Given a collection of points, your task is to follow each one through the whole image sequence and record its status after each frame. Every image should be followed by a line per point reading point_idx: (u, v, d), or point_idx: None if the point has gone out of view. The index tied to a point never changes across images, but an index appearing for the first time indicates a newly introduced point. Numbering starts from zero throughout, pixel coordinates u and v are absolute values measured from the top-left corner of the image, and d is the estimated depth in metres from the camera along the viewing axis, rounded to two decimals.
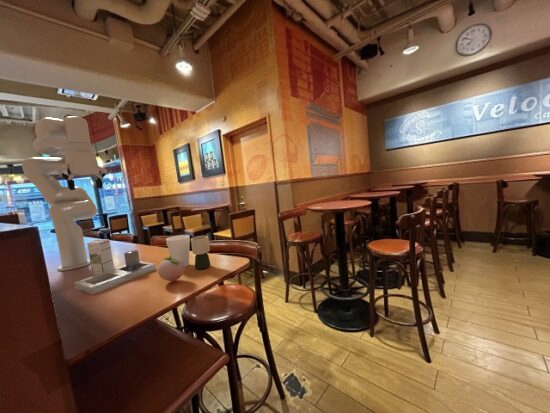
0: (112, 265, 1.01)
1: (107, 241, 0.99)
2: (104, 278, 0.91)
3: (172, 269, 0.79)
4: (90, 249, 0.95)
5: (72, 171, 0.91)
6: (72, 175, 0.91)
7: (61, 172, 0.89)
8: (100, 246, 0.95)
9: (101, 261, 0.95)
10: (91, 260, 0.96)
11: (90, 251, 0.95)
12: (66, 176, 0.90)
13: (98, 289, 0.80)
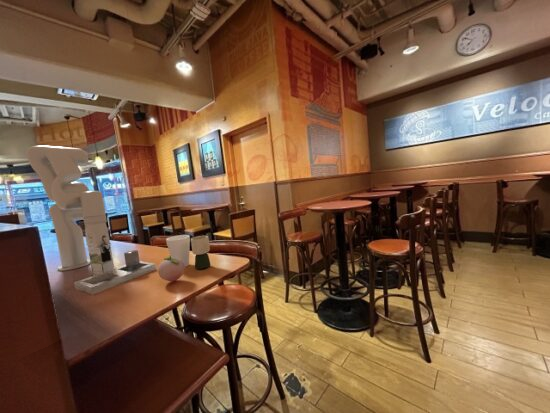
0: (113, 265, 1.01)
1: None
2: (104, 278, 0.91)
3: (172, 269, 0.79)
4: (90, 249, 0.95)
5: (109, 241, 0.97)
6: None
7: None
8: None
9: (101, 261, 0.95)
10: (91, 260, 0.96)
11: (90, 251, 0.95)
12: None
13: (98, 289, 0.80)
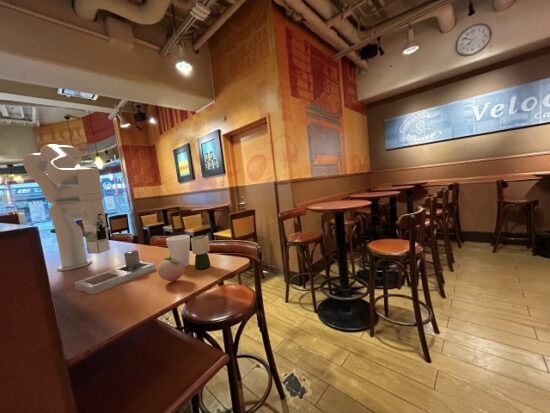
0: (108, 244, 1.00)
1: None
2: (104, 278, 0.91)
3: (172, 269, 0.79)
4: (86, 227, 0.94)
5: (105, 220, 0.96)
6: None
7: None
8: None
9: (96, 240, 0.95)
10: (86, 238, 0.95)
11: (86, 229, 0.95)
12: None
13: (98, 289, 0.80)
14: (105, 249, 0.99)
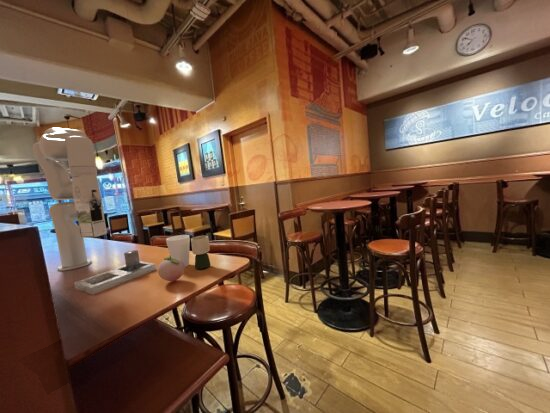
0: (105, 227, 0.86)
1: None
2: (104, 278, 0.91)
3: (172, 269, 0.79)
4: (78, 206, 0.81)
5: None
6: None
7: None
8: None
9: (90, 220, 0.81)
10: (79, 219, 0.81)
11: (78, 208, 0.81)
12: None
13: (98, 289, 0.80)
14: (101, 232, 0.84)
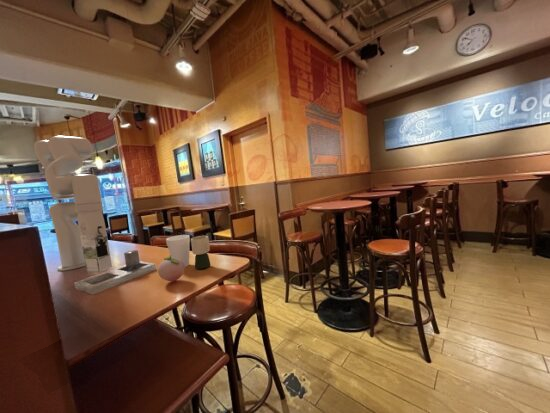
0: (110, 261, 0.87)
1: None
2: (104, 278, 0.91)
3: (172, 269, 0.79)
4: (83, 242, 0.82)
5: None
6: None
7: None
8: None
9: (96, 256, 0.82)
10: (85, 255, 0.83)
11: (84, 244, 0.82)
12: None
13: (98, 289, 0.80)
14: (106, 267, 0.86)
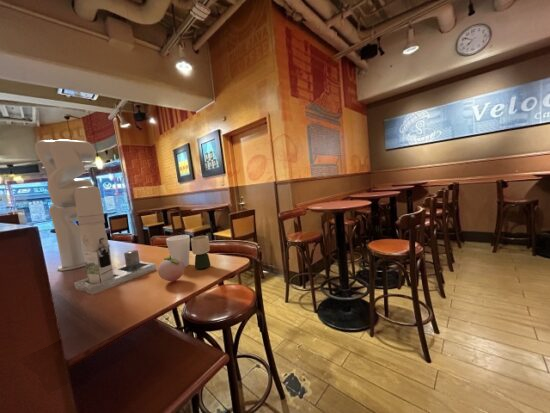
0: (112, 275, 0.88)
1: None
2: None
3: (172, 269, 0.79)
4: (86, 257, 0.82)
5: None
6: None
7: None
8: (98, 254, 0.82)
9: (98, 272, 0.83)
10: (87, 270, 0.83)
11: (86, 260, 0.83)
12: None
13: (98, 289, 0.80)
14: None
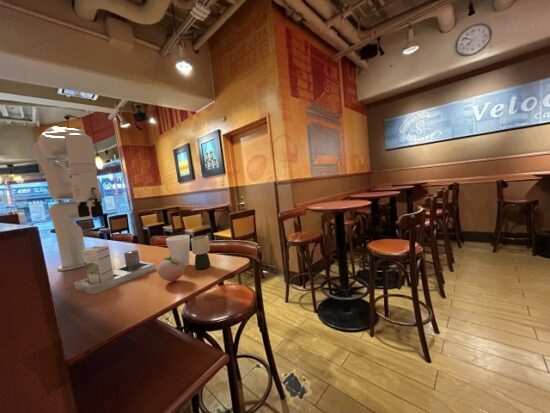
0: (112, 275, 0.88)
1: (106, 248, 0.86)
2: None
3: (172, 269, 0.79)
4: (86, 258, 0.83)
5: None
6: None
7: None
8: (97, 254, 0.82)
9: (98, 272, 0.83)
10: (87, 270, 0.83)
11: (86, 260, 0.83)
12: None
13: (98, 289, 0.80)
14: None
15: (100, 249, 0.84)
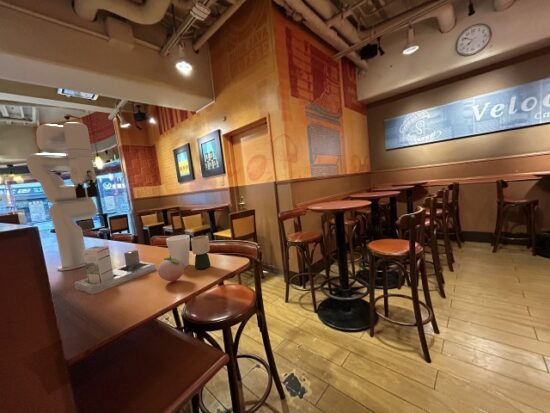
0: (112, 276, 0.88)
1: (106, 248, 0.86)
2: None
3: (172, 269, 0.79)
4: (86, 257, 0.83)
5: None
6: None
7: None
8: (97, 254, 0.82)
9: (98, 272, 0.83)
10: (87, 270, 0.83)
11: (86, 260, 0.83)
12: None
13: (98, 289, 0.80)
14: None
15: (100, 249, 0.84)
